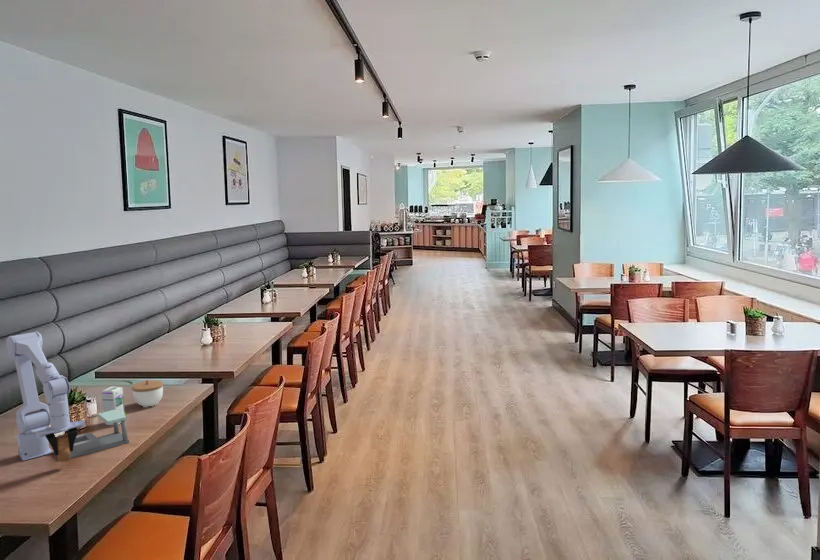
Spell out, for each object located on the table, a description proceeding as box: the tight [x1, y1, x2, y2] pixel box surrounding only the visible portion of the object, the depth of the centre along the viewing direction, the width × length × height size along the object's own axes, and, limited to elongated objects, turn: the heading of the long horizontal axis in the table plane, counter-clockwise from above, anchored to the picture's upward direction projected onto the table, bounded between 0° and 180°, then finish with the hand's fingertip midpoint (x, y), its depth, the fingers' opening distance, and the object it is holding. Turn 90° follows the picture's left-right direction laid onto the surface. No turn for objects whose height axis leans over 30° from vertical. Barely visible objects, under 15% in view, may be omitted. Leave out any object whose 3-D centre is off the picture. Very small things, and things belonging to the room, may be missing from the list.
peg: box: [55, 434, 72, 463], centre depth 210 cm, size 4×4×8 cm
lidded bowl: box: [131, 379, 164, 408], centre depth 273 cm, size 13×13×11 cm
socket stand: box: [70, 409, 130, 459], centre depth 228 cm, size 21×12×10 cm, turn 132°
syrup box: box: [100, 386, 127, 426], centre depth 252 cm, size 6×6×14 cm
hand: (63, 452), depth 210 cm, fingers closed on peg, 4 cm apart
